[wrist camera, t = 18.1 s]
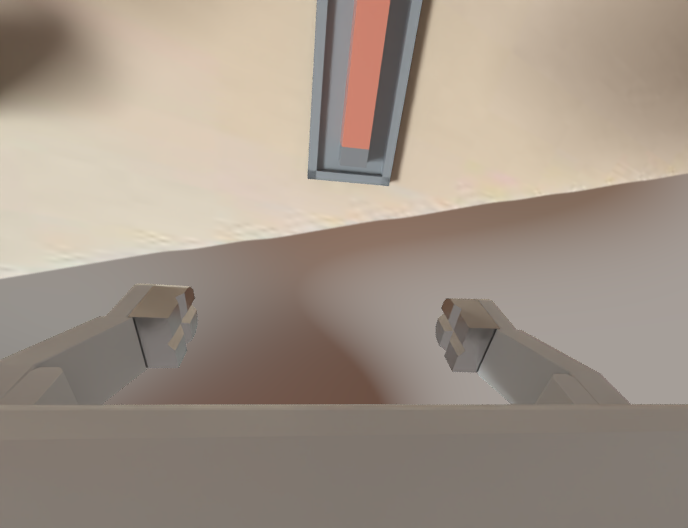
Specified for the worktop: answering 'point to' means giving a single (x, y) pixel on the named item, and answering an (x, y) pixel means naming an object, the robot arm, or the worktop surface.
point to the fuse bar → (362, 80)
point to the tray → (331, 85)
